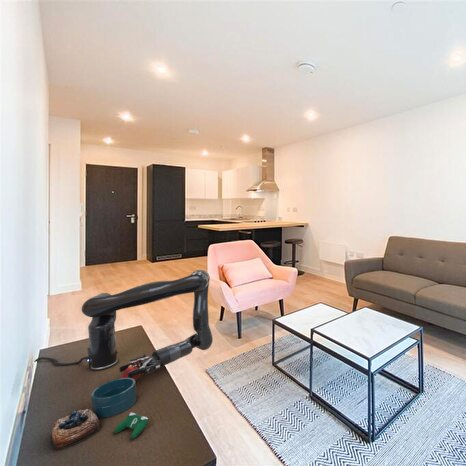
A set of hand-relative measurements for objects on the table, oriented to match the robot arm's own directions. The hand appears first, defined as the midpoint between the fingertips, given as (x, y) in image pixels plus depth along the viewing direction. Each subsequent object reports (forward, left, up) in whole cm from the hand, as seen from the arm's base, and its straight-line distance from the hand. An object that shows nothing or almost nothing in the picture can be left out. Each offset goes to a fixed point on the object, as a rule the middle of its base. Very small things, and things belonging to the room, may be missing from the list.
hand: (124, 372), depth 117 cm
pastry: (+5, -24, -6) cm, 25 cm away
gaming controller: (+22, -22, -6) cm, 32 cm away
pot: (+6, -11, -6) cm, 14 cm away
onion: (+1, +2, -6) cm, 7 cm away
